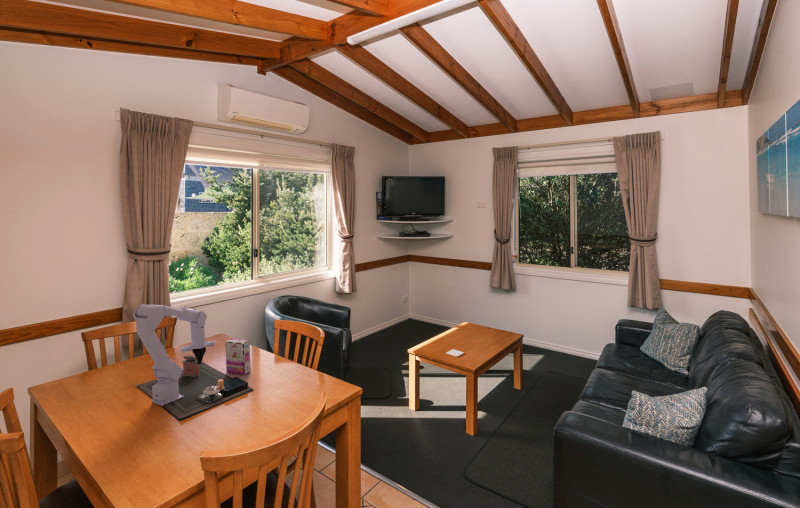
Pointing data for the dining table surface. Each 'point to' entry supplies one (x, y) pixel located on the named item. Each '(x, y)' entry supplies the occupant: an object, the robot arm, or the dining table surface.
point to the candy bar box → (238, 356)
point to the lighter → (190, 366)
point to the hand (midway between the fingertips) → (199, 363)
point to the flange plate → (213, 388)
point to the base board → (211, 396)
